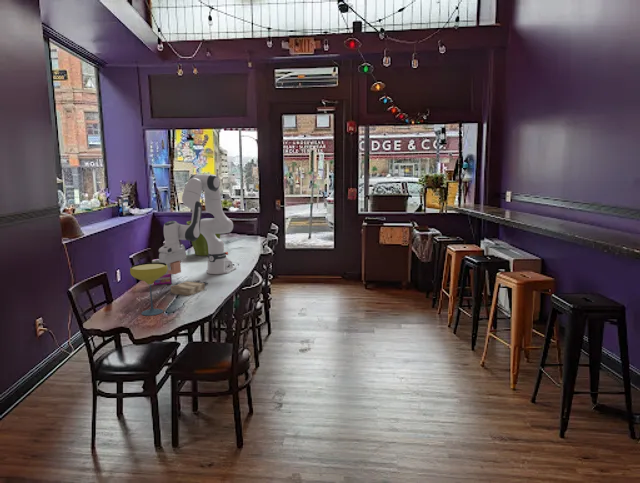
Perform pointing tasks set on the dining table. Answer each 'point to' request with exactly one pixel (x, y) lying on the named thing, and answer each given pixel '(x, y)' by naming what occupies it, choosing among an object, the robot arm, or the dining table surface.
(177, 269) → the block
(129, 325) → the dining table surface
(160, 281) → the candy bar box
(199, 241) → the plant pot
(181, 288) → the plinth
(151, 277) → the cocktail glass
